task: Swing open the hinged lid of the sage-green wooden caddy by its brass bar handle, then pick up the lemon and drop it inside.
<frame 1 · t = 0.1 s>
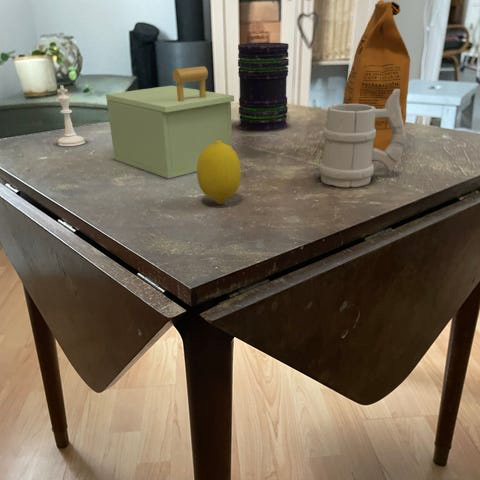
chess piece: (72, 144, 101), on the table
storage jar: (263, 127, 111), on the table
coffee package: (368, 152, 91), on the table
caddy: (172, 160, 89), on the table
mug: (359, 181, 78), on the table
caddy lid: (167, 82, 82), point 12 cm above the table, hinge at 0.0°
lemon: (220, 205, 70), on the table
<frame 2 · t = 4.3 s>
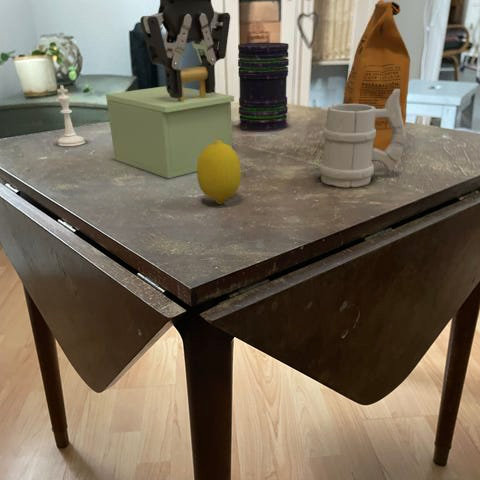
hand: (191, 94, 79), 11 cm above the table, tool pointing down, fingers closed on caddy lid, 5 cm apart
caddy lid: (167, 83, 82), point 12 cm above the table, hinge at -0.1°, touching gripper
everything else where it was.
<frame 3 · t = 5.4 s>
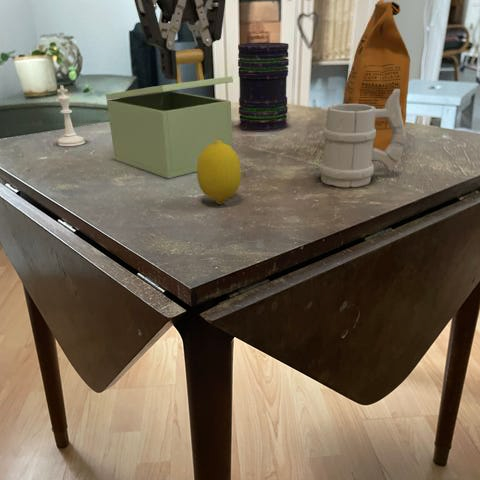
hand: (187, 76, 78), 13 cm above the table, tool pointing down, fingers closed on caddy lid, 5 cm apart
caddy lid: (165, 73, 82), point 13 cm above the table, hinge at 9.4°, touching gripper
everything else where it was.
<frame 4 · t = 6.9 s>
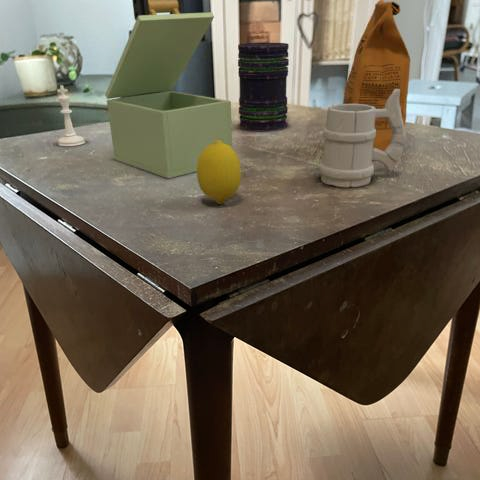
hand: (160, 24, 78), 20 cm above the table, tool pointing down, fingers closed on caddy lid, 5 cm apart
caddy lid: (151, 45, 82), point 17 cm above the table, hinge at 42.2°, touching gripper
everything else where it was.
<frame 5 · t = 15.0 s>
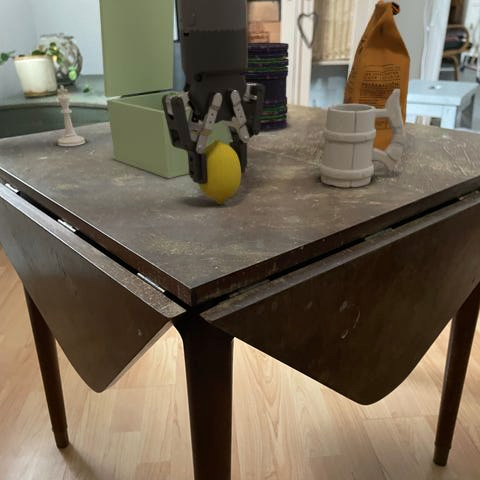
hand: (219, 176, 68), 4 cm above the table, tool pointing down, fingers closed on lemon, 5 cm apart
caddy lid: (131, 34, 85), point 18 cm above the table, hinge at 80.1°
lemon: (220, 205, 70), on the table, touching gripper
everything else where it was.
when the fingers open (10 cm above the table, at t = 23.1 s): lemon drops 5 cm, resting on caddy.
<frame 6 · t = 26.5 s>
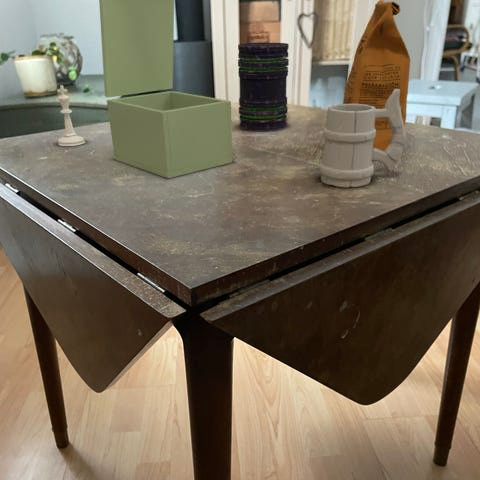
lemon: (171, 152, 87), point 2 cm above the table, touching caddy
everything else where it was.
at the end: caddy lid at +80° (first picture: +0°); lemon inside the target area in the caddy (1.4 cm from its centre), point 1.7 cm above the caddy's base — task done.
